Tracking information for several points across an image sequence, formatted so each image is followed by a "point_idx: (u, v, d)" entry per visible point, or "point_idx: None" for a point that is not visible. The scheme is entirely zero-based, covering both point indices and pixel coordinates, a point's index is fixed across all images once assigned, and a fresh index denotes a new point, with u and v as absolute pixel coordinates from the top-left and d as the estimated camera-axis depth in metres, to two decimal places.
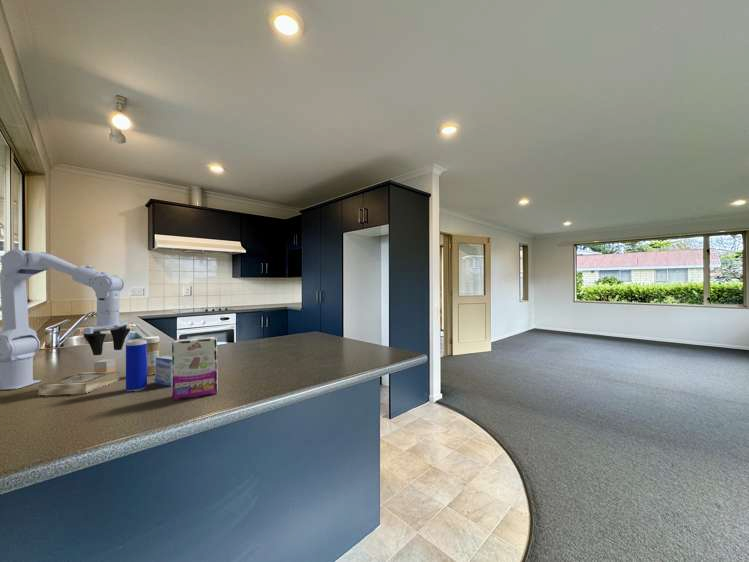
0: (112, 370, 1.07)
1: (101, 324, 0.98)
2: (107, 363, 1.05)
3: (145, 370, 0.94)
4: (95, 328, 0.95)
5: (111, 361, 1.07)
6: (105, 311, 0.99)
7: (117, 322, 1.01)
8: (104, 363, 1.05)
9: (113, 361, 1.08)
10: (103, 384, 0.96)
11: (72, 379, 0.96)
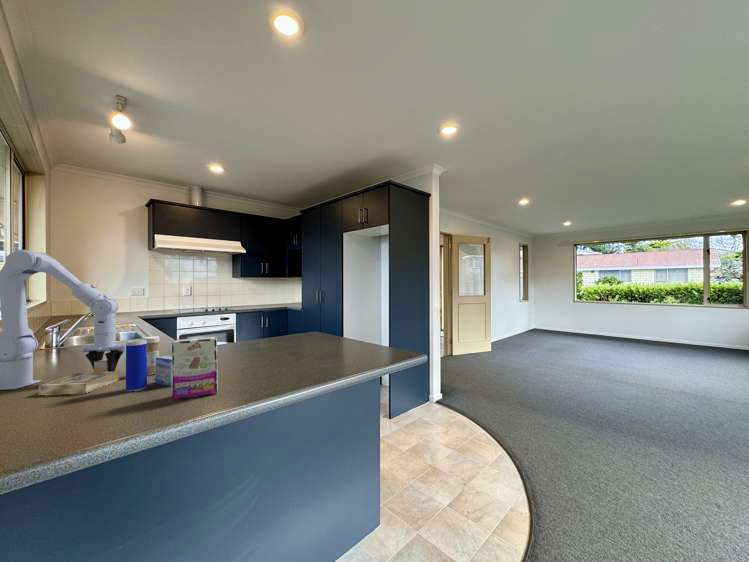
0: None
1: None
2: (107, 363, 1.05)
3: (145, 370, 0.94)
4: (84, 348, 1.05)
5: None
6: (105, 333, 1.04)
7: (99, 345, 1.04)
8: (104, 363, 1.05)
9: None
10: (103, 384, 0.96)
11: (72, 379, 0.96)
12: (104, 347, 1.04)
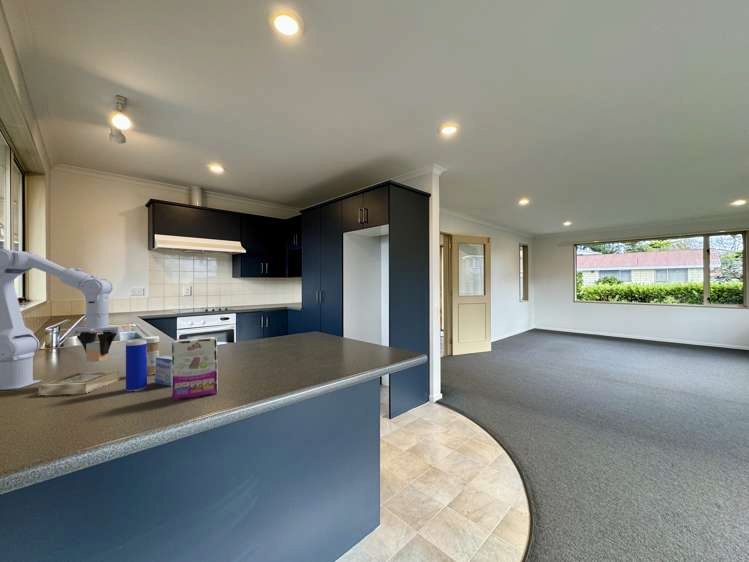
0: None
1: None
2: None
3: (145, 370, 0.94)
4: (76, 329, 1.01)
5: None
6: (95, 314, 1.01)
7: (91, 326, 1.00)
8: (97, 345, 1.01)
9: None
10: (103, 384, 0.96)
11: (72, 379, 0.96)
12: (96, 328, 1.01)
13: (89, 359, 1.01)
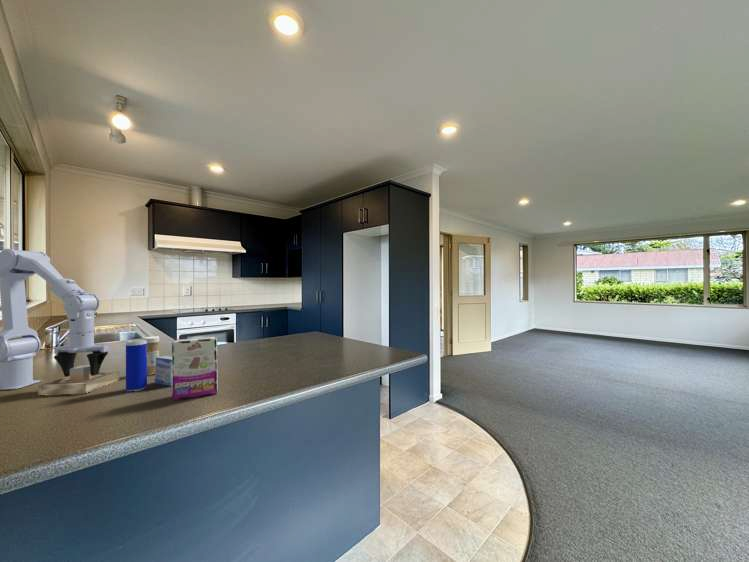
0: (90, 377, 0.97)
1: None
2: (84, 370, 0.95)
3: (145, 370, 0.94)
4: (58, 348, 0.95)
5: (89, 368, 0.97)
6: (76, 333, 0.94)
7: (75, 345, 0.93)
8: (81, 370, 0.94)
9: None
10: (103, 384, 0.96)
11: None
12: (80, 348, 0.94)
13: None
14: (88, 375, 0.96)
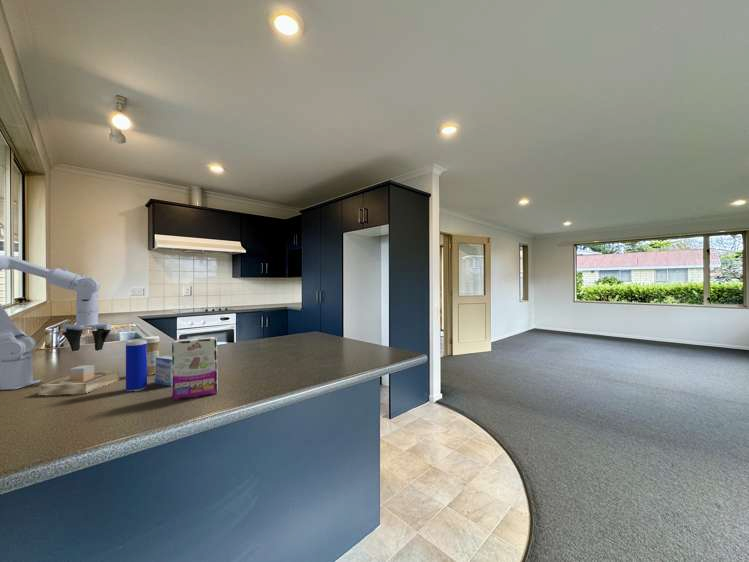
0: (90, 377, 0.97)
1: None
2: (84, 370, 0.95)
3: (145, 370, 0.94)
4: (66, 326, 1.06)
5: (89, 368, 0.97)
6: (89, 311, 1.06)
7: (81, 323, 1.05)
8: (81, 370, 0.94)
9: (92, 367, 0.98)
10: (103, 384, 0.96)
11: None
12: (86, 325, 1.05)
13: None
14: (88, 375, 0.96)
